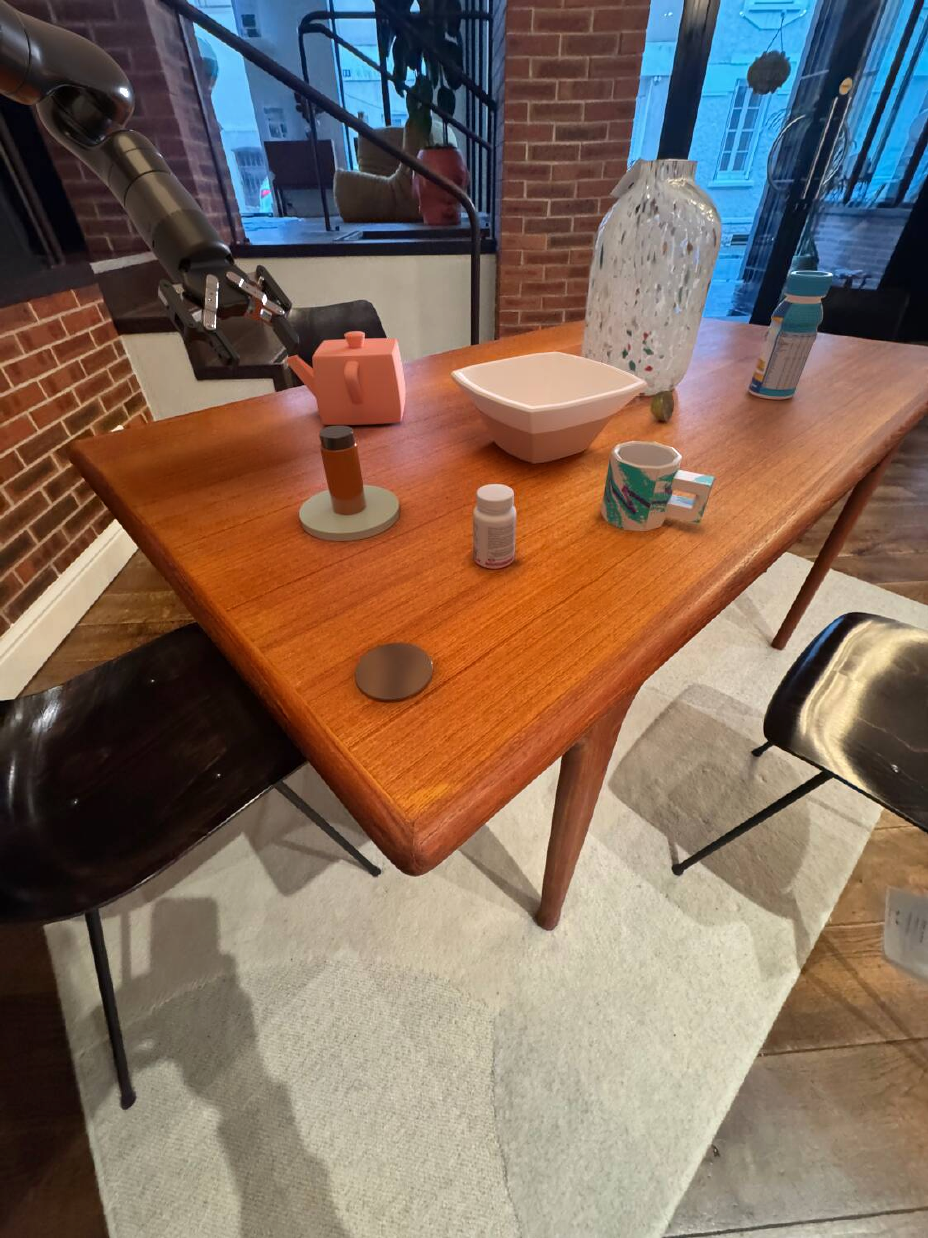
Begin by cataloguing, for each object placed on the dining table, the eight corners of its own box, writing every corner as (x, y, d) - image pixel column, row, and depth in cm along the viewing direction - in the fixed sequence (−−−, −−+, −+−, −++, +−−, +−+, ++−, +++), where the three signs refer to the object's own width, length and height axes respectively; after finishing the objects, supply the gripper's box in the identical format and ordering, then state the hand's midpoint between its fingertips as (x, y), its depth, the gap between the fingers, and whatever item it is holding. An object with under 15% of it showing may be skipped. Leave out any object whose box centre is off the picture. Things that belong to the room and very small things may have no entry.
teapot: (408, 395, 106) (402, 317, 97) (402, 436, 90) (393, 347, 81) (311, 398, 106) (295, 320, 97) (286, 440, 89) (264, 351, 80)
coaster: (366, 712, 44) (365, 709, 44) (347, 658, 49) (346, 655, 48) (444, 687, 46) (443, 684, 45) (418, 637, 51) (418, 634, 50)
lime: (670, 414, 95) (677, 385, 92) (675, 424, 92) (683, 394, 88) (645, 414, 96) (651, 385, 92) (649, 423, 92) (656, 394, 89)
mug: (613, 495, 72) (624, 435, 67) (704, 515, 67) (723, 453, 62) (593, 522, 67) (603, 459, 61) (690, 546, 62) (710, 480, 57)
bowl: (648, 452, 83) (663, 381, 76) (521, 491, 73) (525, 415, 66) (554, 409, 98) (559, 347, 91) (439, 437, 89) (436, 371, 82)
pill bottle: (521, 554, 61) (525, 488, 56) (501, 574, 58) (504, 506, 53) (486, 543, 63) (487, 478, 58) (465, 562, 60) (464, 495, 55)
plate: (310, 550, 63) (308, 542, 62) (293, 503, 72) (291, 495, 71) (412, 527, 66) (412, 519, 66) (384, 485, 76) (383, 477, 75)
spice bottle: (336, 518, 66) (320, 441, 60) (329, 502, 69) (314, 428, 63) (370, 511, 68) (358, 434, 61) (361, 496, 71) (349, 422, 64)
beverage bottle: (775, 403, 98) (820, 278, 85) (737, 391, 104) (774, 272, 91) (803, 395, 101) (851, 273, 88) (765, 384, 107) (804, 268, 94)
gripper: (227, 254, 68) (304, 363, 70) (117, 268, 59) (208, 391, 61) (239, 202, 62) (322, 323, 64) (119, 209, 53) (219, 348, 55)
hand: (266, 356), depth 63 cm, fingers open, 8 cm apart
